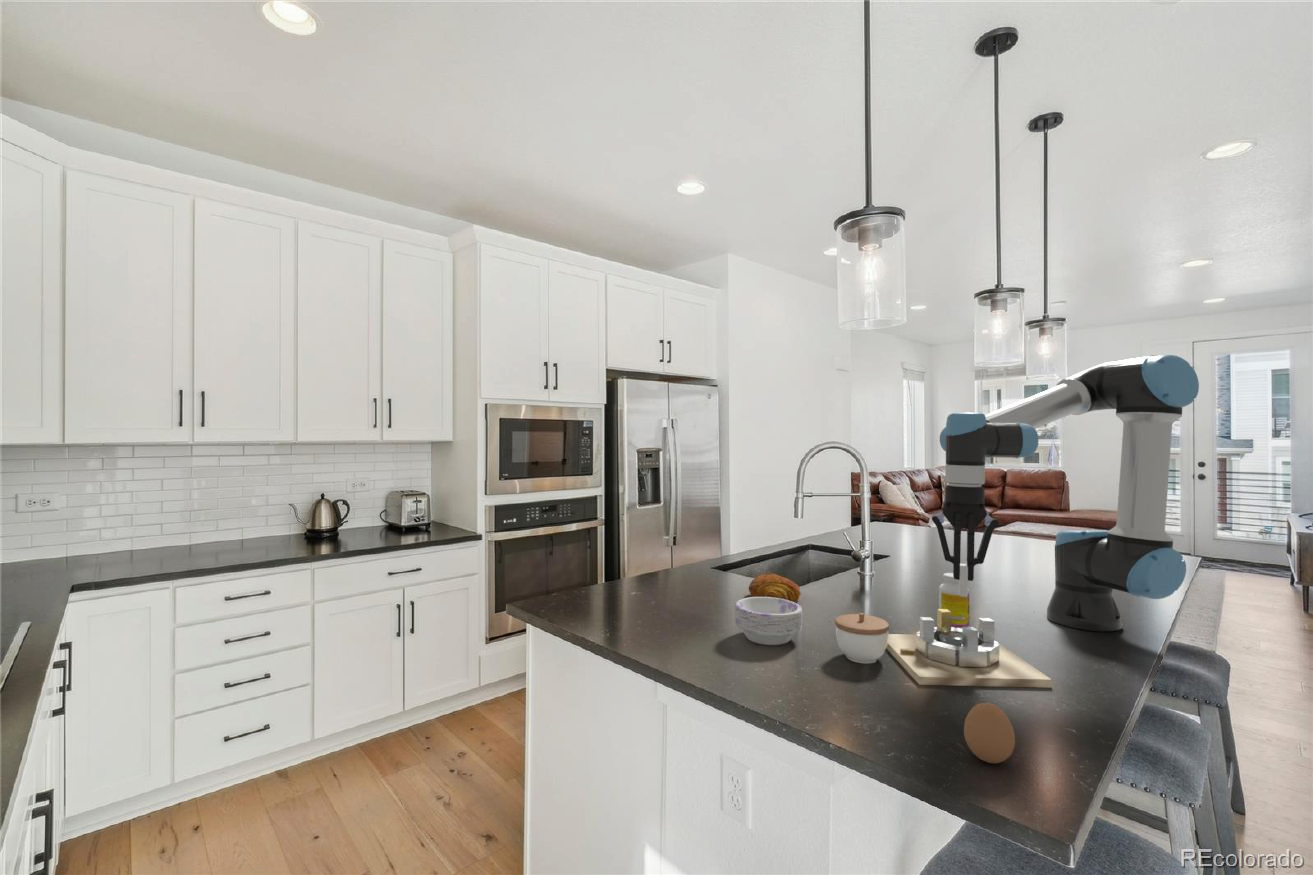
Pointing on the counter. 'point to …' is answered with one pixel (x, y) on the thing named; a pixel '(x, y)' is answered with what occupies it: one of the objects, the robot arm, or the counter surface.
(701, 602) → the counter surface
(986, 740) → the egg
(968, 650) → the ring nut
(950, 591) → the supplement bottle
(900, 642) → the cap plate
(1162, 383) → the robot arm
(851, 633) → the lidded jar
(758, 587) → the croissant
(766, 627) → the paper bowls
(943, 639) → the dark grey dome
